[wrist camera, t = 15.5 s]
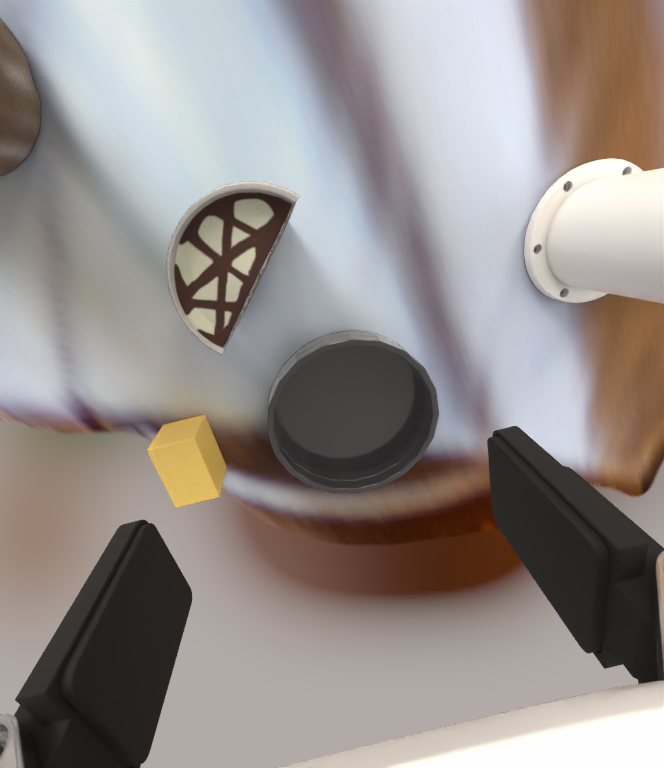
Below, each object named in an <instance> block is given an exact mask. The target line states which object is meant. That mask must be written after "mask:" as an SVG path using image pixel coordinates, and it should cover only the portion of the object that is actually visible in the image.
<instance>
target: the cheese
mask: <svg viewBox="0 0 664 768" xmlns="http://www.w3.org/2000/svg"><path fill="white" fill-rule="evenodd" d="M147 452H148V454H149V456H150V458H151V460H152V462H153V464H154V466H155V468H156V470H157V472H158V474H159V476H160V478H161V480H162V482H163V484H164V486H165V488H166V490H167V492H168V494H169V496H170V498H171V500H172V502H173V504H174V506H175V507H176V508H177V507H182V506H185V505H190V504H194V503H198V502H202V501H205V500H209V499H213V498H217V497H219V496H220V493H221V489H222V485H223V481H224V477H225V473H226V470H227V466H226V464H225V462H224V459H223V457H222V454H221V452H220V449H219V447H218V444H217V442H216V440H215V437H214V435H213V432H212V430H211V427H210V425H209V422H208V420H207V418H206V415H205V414H204V415H200V416H196V417H192V418H188V419H184V420H180V421H176V422H172V423H168V424H164V425H163V426H162V427H161V429H160V431H159V432H158V434H157V435H156V437H155V438H154V440H153V441H152V443H151V444H150V446H149V447H148V449H147Z"/></svg>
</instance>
